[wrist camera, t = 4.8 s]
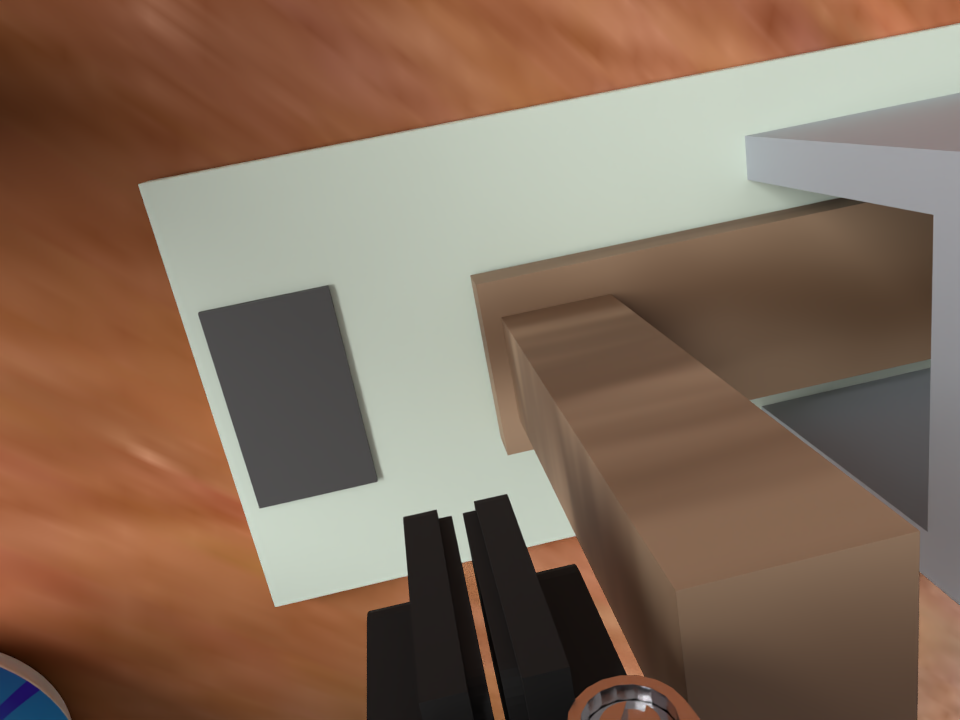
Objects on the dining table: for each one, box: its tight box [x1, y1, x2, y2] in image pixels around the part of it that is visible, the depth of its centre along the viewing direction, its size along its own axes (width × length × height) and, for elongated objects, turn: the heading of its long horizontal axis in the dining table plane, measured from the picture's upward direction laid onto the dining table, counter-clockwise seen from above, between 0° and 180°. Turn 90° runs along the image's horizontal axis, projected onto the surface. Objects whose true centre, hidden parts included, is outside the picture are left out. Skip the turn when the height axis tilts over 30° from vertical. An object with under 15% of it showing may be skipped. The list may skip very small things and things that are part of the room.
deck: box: [138, 23, 960, 607], centre depth 23 cm, size 13×33×1 cm, turn 100°
